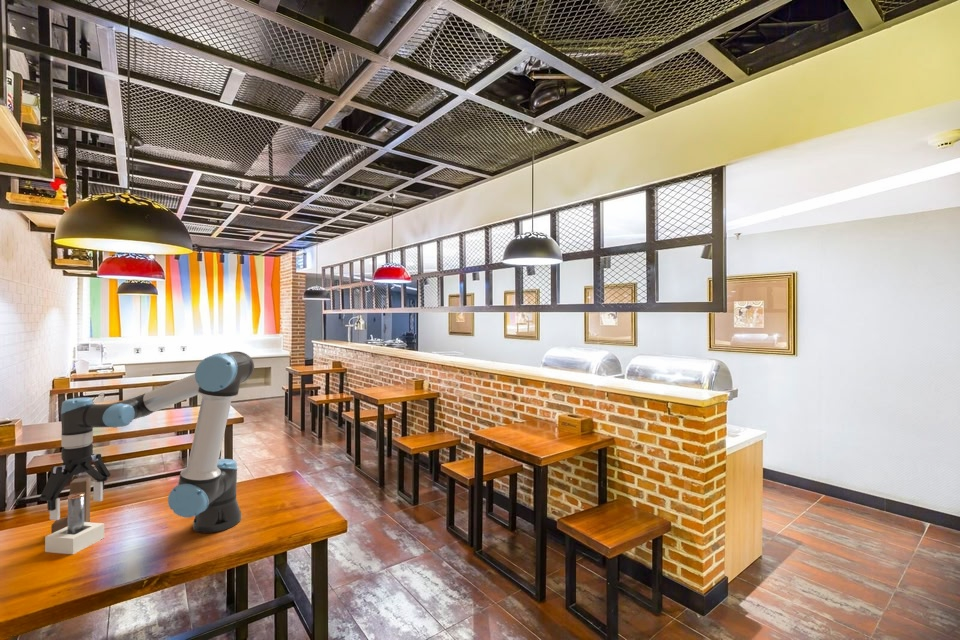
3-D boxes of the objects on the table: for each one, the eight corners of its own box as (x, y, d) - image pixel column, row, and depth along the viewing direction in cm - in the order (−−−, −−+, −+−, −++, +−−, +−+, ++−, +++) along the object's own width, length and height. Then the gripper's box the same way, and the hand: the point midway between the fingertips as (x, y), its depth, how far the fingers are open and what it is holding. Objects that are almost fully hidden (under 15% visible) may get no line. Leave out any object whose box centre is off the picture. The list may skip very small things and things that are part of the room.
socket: (104, 538, 144) (104, 523, 144) (73, 554, 134) (73, 538, 134) (77, 536, 145) (78, 521, 145) (45, 552, 135) (45, 536, 135)
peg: (76, 541, 142) (77, 491, 141) (87, 542, 141) (88, 492, 141) (63, 547, 137) (64, 496, 137) (74, 548, 137) (75, 497, 137)
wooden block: (50, 538, 143) (51, 485, 143) (56, 531, 147) (57, 480, 147) (85, 532, 147) (86, 480, 147) (90, 526, 151) (91, 476, 151)
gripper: (104, 434, 152) (104, 493, 152) (22, 457, 127) (23, 527, 127) (123, 435, 151) (123, 494, 151) (44, 458, 126) (45, 528, 126)
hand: (77, 509), depth 139 cm, fingers open, 13 cm apart
